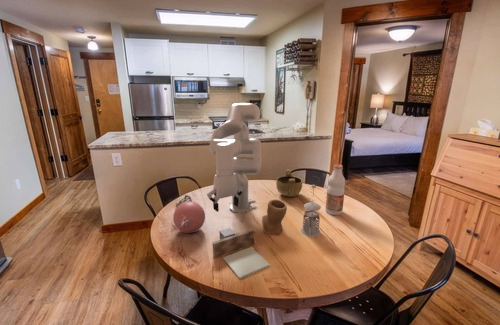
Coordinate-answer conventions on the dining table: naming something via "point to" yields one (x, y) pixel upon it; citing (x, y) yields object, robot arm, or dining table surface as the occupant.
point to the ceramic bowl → (289, 185)
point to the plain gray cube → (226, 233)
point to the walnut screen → (233, 243)
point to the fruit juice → (335, 191)
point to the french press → (311, 219)
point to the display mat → (246, 262)
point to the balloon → (189, 217)
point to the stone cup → (274, 217)
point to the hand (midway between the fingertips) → (226, 207)
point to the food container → (184, 200)
